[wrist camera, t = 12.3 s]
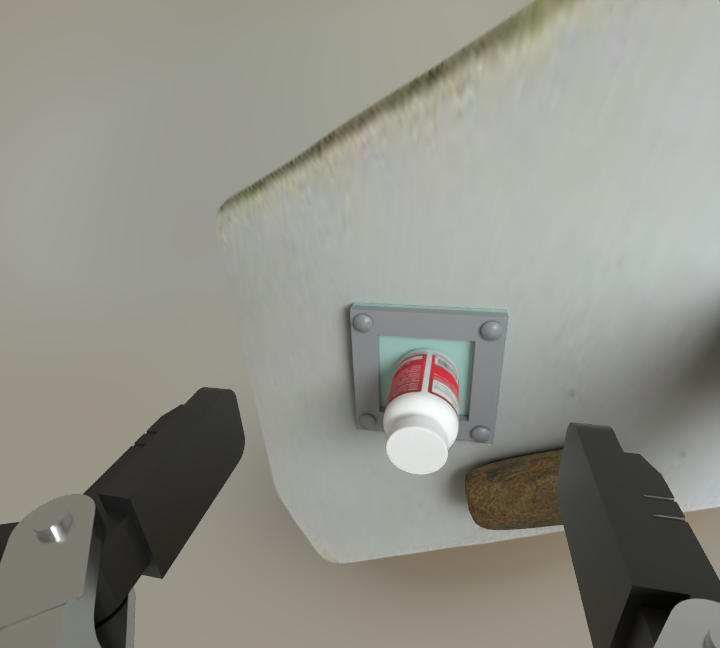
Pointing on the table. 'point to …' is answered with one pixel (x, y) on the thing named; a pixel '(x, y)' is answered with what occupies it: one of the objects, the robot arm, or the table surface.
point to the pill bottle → (422, 411)
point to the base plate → (438, 332)
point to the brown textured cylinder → (515, 492)
